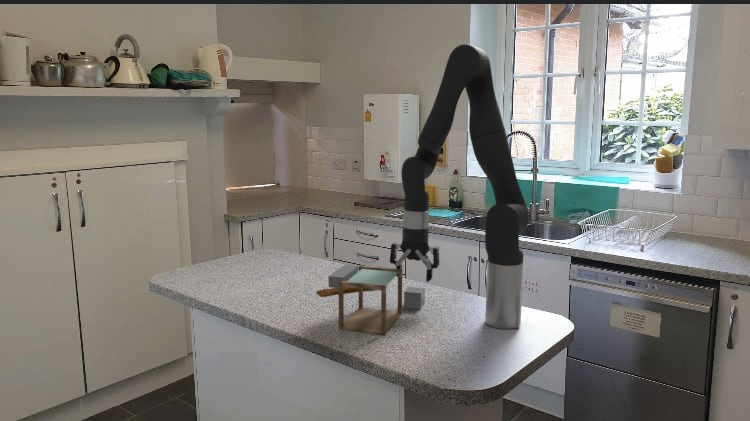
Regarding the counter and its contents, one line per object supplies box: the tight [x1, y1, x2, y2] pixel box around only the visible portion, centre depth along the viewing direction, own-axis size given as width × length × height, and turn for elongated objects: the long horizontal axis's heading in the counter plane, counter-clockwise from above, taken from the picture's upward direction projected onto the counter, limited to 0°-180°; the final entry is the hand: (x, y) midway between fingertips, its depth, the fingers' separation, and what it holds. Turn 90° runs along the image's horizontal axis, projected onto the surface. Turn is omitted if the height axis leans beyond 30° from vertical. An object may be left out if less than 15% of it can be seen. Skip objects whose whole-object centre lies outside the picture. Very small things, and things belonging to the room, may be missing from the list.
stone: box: [403, 286, 426, 310], centre depth 170 cm, size 5×5×5 cm
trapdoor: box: [328, 264, 398, 288], centre depth 156 cm, size 15×14×3 cm
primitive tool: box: [316, 287, 367, 298], centre depth 184 cm, size 19×6×4 cm, turn 114°
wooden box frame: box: [338, 265, 403, 336], centre depth 156 cm, size 13×17×13 cm
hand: (413, 279), depth 169 cm, fingers open, 8 cm apart
